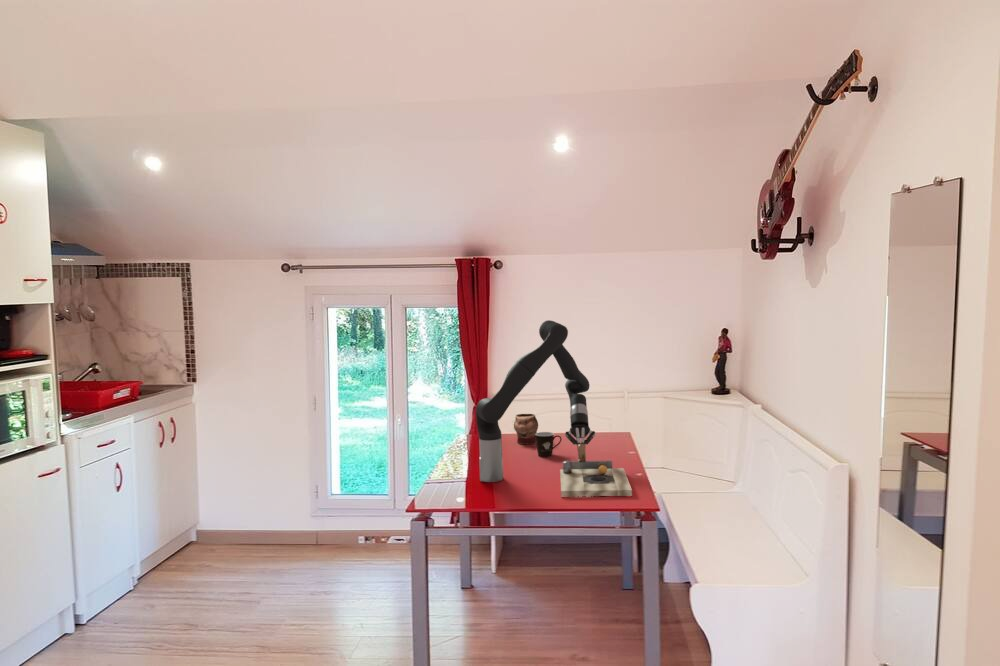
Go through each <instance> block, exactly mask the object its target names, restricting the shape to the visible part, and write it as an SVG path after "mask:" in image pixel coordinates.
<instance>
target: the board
mask: <svg viewBox="0 0 1000 666" xmlns="http://www.w3.org/2000/svg"><path fill="white" fill-rule="evenodd" d="M559 475H560V477H559V478H560V496H561V497H571V498H583V497H582V496H586V497H585V498H594V497H593V496H632V497H633V489H632V487H631V484H630V482H629V479H628V476H627V474H626V471H625V468H623V467H617V468H616V467H615V468H613V467H612V469H607V472H606V473H605V474H601V473H599V470H598V469H572V473H570V474H565V473H563V468H562V469H559ZM573 496H574V497H573ZM578 496H579V497H578ZM591 496H592V497H591Z"/></svg>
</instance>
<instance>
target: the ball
mask: <svg viewBox="0 0 1000 666" xmlns="http://www.w3.org/2000/svg"><path fill="white" fill-rule="evenodd" d="M598 470H599V473H601V474H605V473H606V472H607V467H606V466H604V465H601V466H600V467H599V469H598Z"/></svg>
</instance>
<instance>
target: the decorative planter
mask: <svg viewBox="0 0 1000 666" xmlns="http://www.w3.org/2000/svg"><path fill="white" fill-rule="evenodd" d="M513 429H514V431H515V432H516V435H517V439H516V443H517V444H520V445H532V444H536V437H535V434H536V433H538V429H539V422H538V420H537V417H536V415H535V413H519V414H516V415H515V420H514V423H513Z"/></svg>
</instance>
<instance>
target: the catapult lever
mask: <svg viewBox="0 0 1000 666" xmlns="http://www.w3.org/2000/svg"><path fill="white" fill-rule="evenodd" d="M586 451H587V450H586V444H578V447H577V457H578V458H577V459H578V460H572V461H571V460H563V461H562V469H563V473H565V474H570V473H572V469H599V467H600V466H601V465H604V466H606V467H607V469H612V468H613V460H587V454H586V453H587V452H586Z"/></svg>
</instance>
